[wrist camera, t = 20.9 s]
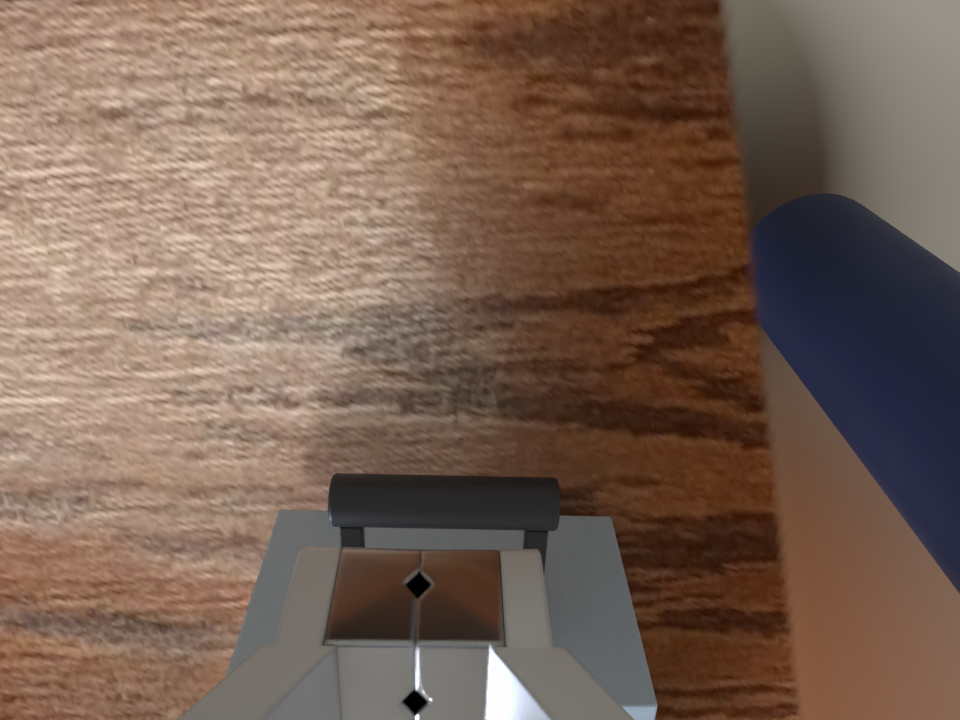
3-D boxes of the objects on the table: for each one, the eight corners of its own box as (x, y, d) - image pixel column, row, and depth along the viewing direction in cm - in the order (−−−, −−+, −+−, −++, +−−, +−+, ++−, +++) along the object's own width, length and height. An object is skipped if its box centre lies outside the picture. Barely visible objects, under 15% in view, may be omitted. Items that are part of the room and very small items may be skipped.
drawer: (266, 383, 26) (192, 552, 19) (628, 392, 26) (687, 561, 19) (304, 766, 34) (263, 979, 27) (575, 769, 34) (603, 980, 28)
